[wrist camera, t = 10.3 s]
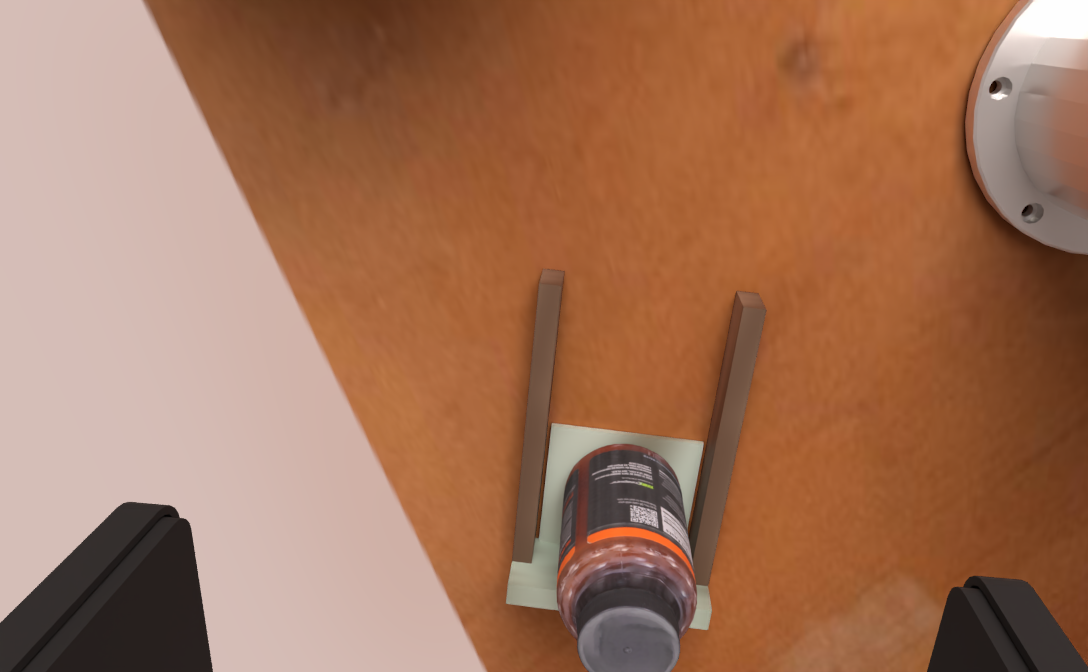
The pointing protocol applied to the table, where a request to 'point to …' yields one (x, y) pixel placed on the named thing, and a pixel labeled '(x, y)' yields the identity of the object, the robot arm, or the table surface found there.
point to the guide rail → (570, 443)
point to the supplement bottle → (625, 561)
